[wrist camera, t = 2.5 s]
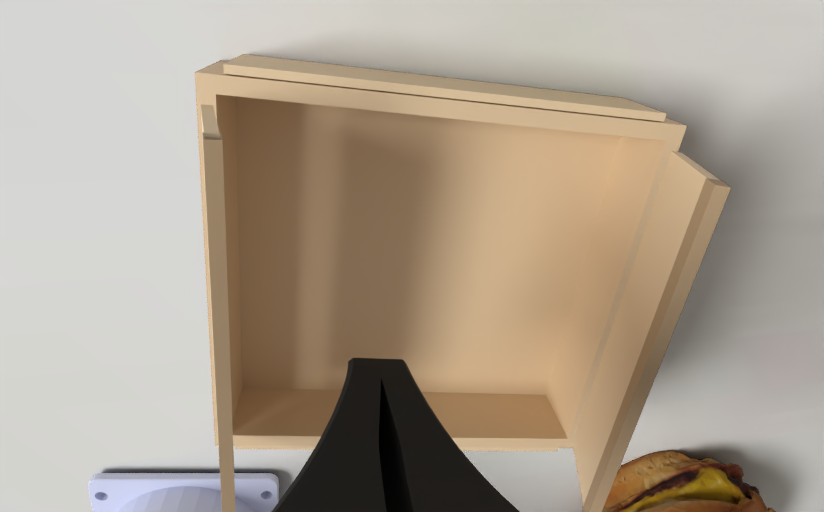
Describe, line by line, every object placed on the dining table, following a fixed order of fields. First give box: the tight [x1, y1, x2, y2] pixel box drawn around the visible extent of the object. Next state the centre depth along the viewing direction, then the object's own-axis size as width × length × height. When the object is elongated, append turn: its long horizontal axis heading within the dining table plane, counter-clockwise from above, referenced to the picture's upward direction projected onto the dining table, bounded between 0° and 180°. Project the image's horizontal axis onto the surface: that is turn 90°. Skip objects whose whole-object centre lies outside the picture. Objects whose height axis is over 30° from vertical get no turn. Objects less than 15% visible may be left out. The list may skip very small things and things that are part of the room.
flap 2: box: [573, 151, 731, 512], centre depth 16 cm, size 12×1×4 cm, turn 173°
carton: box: [195, 54, 687, 451], centre depth 19 cm, size 14×14×3 cm
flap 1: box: [201, 104, 235, 512], centre depth 14 cm, size 12×1×4 cm, turn 173°
